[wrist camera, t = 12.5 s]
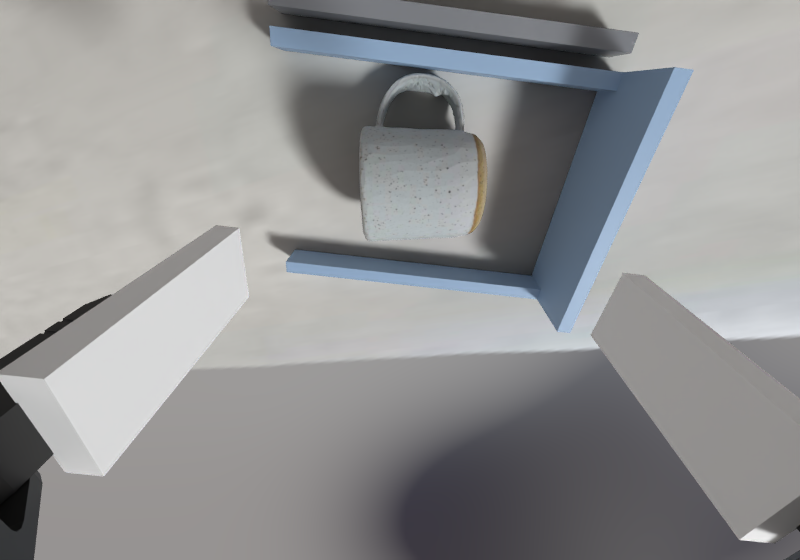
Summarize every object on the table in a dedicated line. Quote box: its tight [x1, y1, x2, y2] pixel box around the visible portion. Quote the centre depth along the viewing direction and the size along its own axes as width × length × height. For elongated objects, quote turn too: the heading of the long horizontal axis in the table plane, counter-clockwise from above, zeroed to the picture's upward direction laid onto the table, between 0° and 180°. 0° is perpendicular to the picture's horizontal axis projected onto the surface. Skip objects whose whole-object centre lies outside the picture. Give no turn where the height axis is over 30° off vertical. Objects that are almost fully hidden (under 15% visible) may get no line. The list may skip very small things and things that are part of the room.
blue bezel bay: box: [269, 26, 693, 333], centre depth 23 cm, size 23×17×7 cm
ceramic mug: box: [359, 73, 487, 241], centre depth 22 cm, size 11×8×8 cm
